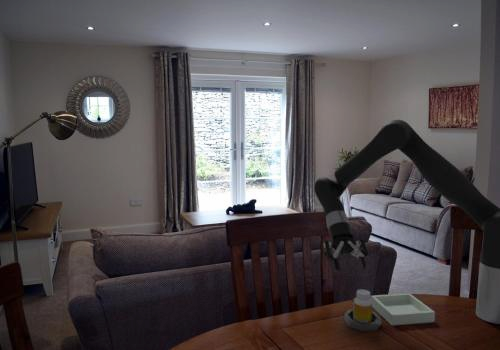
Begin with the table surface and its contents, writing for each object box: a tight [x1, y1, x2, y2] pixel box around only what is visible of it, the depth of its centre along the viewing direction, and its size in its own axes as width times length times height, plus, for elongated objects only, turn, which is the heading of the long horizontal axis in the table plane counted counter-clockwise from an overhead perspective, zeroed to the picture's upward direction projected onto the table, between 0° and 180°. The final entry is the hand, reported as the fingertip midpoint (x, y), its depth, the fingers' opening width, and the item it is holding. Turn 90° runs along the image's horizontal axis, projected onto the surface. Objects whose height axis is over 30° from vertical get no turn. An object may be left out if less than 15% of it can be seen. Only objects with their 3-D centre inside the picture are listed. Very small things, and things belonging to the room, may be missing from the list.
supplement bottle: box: [352, 288, 373, 323], centre depth 120 cm, size 5×5×10 cm
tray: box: [370, 292, 436, 326], centre depth 127 cm, size 14×14×3 cm
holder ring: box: [343, 308, 382, 332], centre depth 121 cm, size 10×10×2 cm
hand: (351, 270), depth 129 cm, fingers open, 8 cm apart
